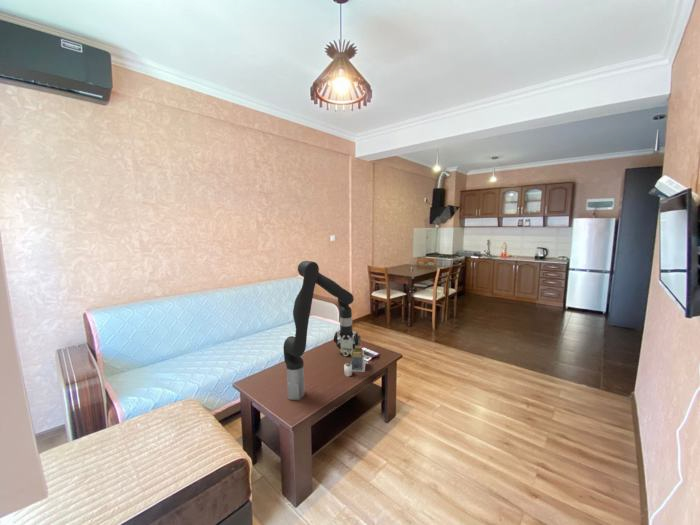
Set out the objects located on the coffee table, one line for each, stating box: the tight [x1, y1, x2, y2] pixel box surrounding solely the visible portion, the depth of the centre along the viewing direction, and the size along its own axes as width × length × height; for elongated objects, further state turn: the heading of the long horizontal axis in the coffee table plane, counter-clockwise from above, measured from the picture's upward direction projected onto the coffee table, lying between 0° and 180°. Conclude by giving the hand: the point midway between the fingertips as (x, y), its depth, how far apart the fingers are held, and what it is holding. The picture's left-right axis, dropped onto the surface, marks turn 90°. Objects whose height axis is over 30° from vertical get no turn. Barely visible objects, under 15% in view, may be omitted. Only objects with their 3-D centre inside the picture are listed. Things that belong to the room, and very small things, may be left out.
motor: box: [349, 346, 367, 373], centre depth 193 cm, size 12×10×12 cm
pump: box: [343, 362, 353, 377], centre depth 184 cm, size 5×5×7 cm
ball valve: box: [333, 329, 362, 357], centre depth 210 cm, size 18×8×18 cm, turn 73°
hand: (346, 348), depth 183 cm, fingers open, 8 cm apart
